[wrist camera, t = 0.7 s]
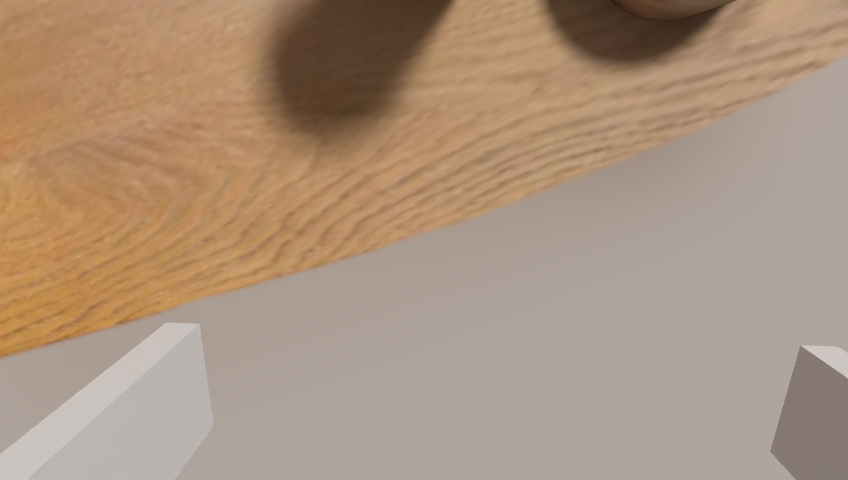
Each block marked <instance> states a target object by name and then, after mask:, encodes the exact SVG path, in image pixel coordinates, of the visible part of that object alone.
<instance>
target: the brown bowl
mask: <svg viewBox="0 0 848 480" xmlns="http://www.w3.org/2000/svg"><path fill="white" fill-rule="evenodd" d="M611 1H612V2H613V3H614V4H616V5H617V6H619V7H620V8H622V9H623V10H625V11H627V12H629V13H631V14H634V15H636V16H640V17H643V18H647V19H653V20H676V19H683V18H687V17H690V16H694V15H697V14H700V13H703V12H705V11H708V10H711V9H714V8H716V7H719V6H722V5H724V4H727V3H730V2H733V1H735V0H611Z"/></svg>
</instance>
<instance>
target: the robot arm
mask: <svg viewBox="0 0 848 480" xmlns="http://www.w3.org/2000/svg"><path fill="white" fill-rule="evenodd" d="M213 427H214V424H213V416H212V410H211V402H210V396H209V388H208V381H207V374H206V367H205V360H204V354H203V346H202V339H201V332H200V325H199V324H189V323H165V324H164V325H163V326H162V327H160V328H159V329H158V330H156V331H155V332H154V333H153V334H151V335H150V336H149V337H148V338H146V339H145V340H144V341H143V342H141V343H140V344H139V345H137V346H136V347H135V348H134V349H132V350H131V351H130V352H129V353H127V354H126V355H125V356H124V357H122V358H121V359H120V360H119V361H117V362H116V363H115V364H113V365H112V366H111V367H110V368H108V369H107V370H106V371H105V372H103V373H102V374H101V375H99V376H98V377H97V378H96V379H94V380H93V381H92V382H91V383H89V384H88V385H87V386H86V387H84V388H83V389H82V390H80V391H79V392H78V393H77V394H75V395H74V396H73V397H72V398H70V399H69V400H68V401H67V402H66V403H64V404H63V405H61V406H60V407H59V408H58V409H56V410H55V411H54V412H53V413H51V414H50V415H49V416H48V417H46V418H45V419H44V420H43V421H41V422H40V423H39V424H37V425H36V426H35V427H34V428H32V429H31V430H30V431H29V432H28V433H26V434H25V435H24V436H23V437H21V438H20V439H18V440H17V441H16V442H15V443H13V444H12V445H11V446H10V447H8V448H7V449H6V450H5V451H3V452H2V453H1V454H0V480H176V478H177V477H178V476H179V474H180V473H181V472H182V470H183V469H184V467H185V466H186V465H187V463H188V462H189V460H190V459H191V458H192V456H193V455H194V453H195V452H196V450H197V449H198V448H199V446H200V445H201V444H202V442H203V441H204V440H205V438H206V437H207V435H208V434H209V432H210V431H211V430H212V428H213ZM771 453H772V454H773V455H774V456H775V457H776V458H777V459H778V461H779V462H780V463H781V464H782V465H783V466H784V467H785V468H786V469H787V470H788V471H789V472H790V474H792V476H793V477H794V478H795V479H796V480H848V353H847V352H845V351H844V350H842V349H840V348H839V347H827V346H802V345H801V346H800V349H799V352H798V356H797V359H796V363H795V367H794V370H793V373H792V377H791V380H790V384H789V388H788V391H787V395H786V398H785V402H784V405H783V409H782V412H781V416H780V419H779V423H778V426H777V430H776V434H775V437H774V440H773V444H772V447H771Z"/></svg>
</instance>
